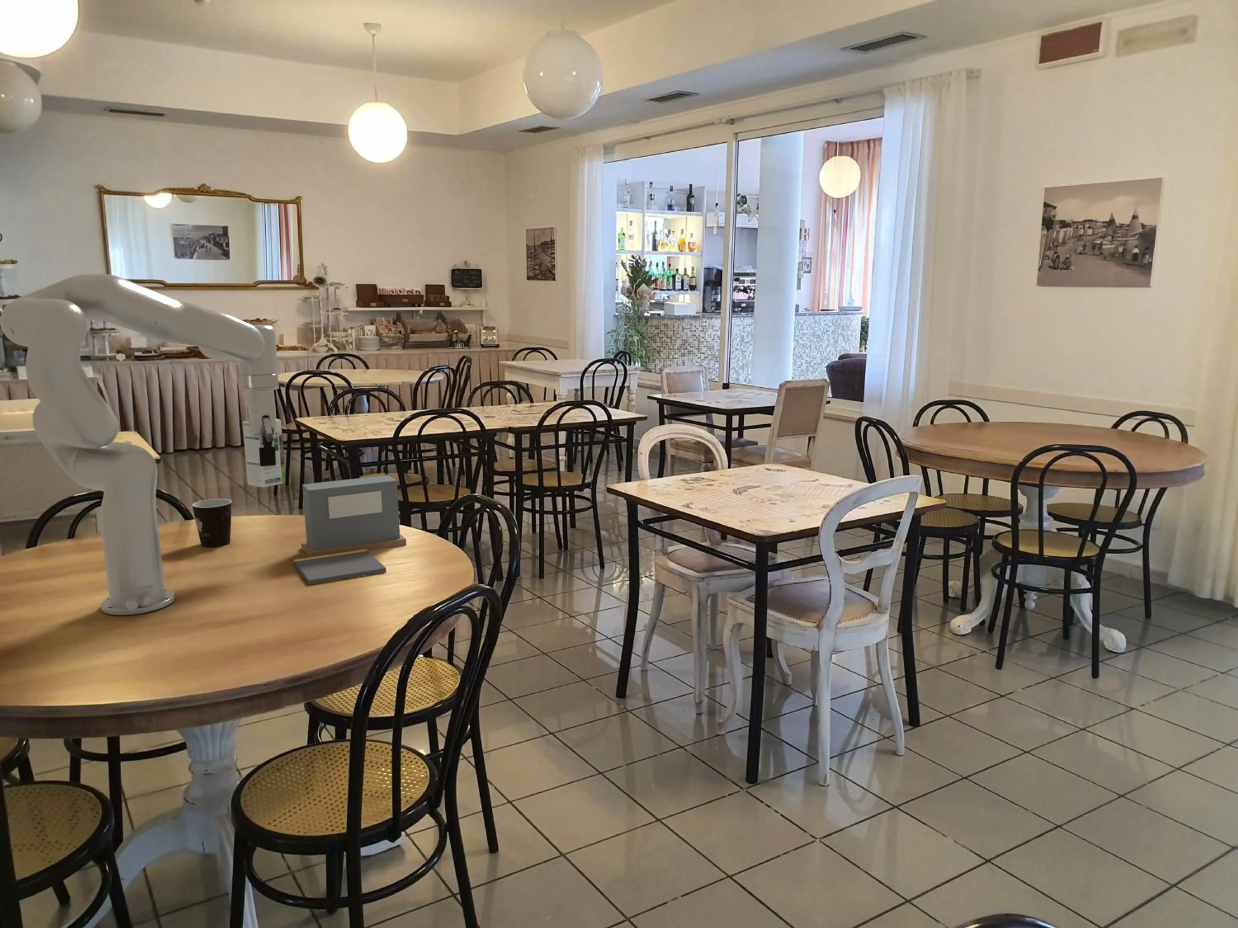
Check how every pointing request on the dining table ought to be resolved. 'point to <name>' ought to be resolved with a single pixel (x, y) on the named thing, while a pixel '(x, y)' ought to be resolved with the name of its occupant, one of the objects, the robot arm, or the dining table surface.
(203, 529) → the coffee mug
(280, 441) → the syrup box
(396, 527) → the box
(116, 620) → the dining table surface
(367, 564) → the mat
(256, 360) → the robot arm
